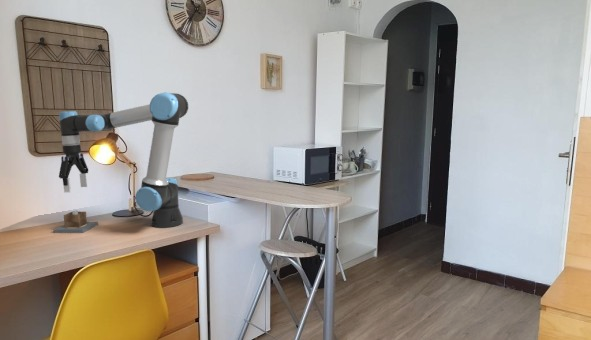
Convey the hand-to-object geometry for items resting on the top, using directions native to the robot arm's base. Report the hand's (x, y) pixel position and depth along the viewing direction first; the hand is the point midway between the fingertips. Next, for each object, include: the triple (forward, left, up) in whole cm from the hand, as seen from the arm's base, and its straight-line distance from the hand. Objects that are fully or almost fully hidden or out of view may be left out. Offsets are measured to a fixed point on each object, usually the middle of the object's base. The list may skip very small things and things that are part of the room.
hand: (76, 189), depth 204 cm
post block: (+2, -1, -19) cm, 19 cm away
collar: (+2, -1, -18) cm, 18 cm away
